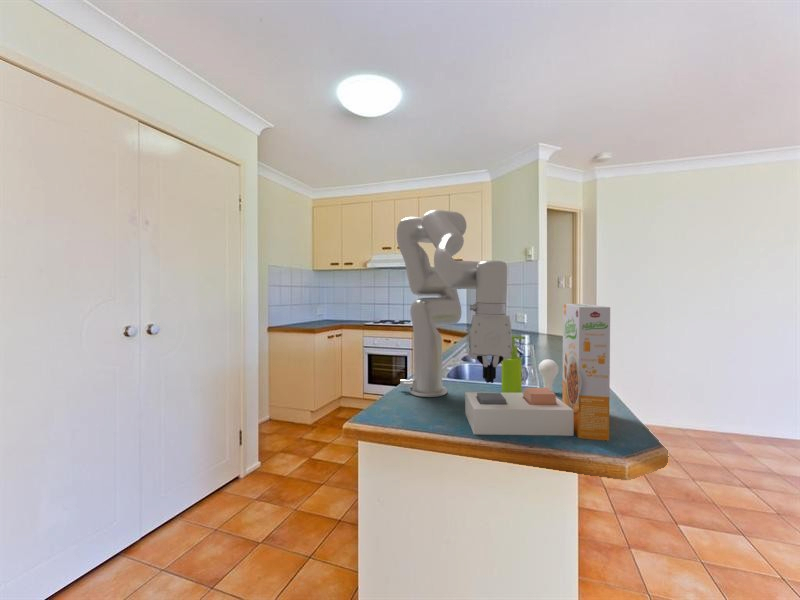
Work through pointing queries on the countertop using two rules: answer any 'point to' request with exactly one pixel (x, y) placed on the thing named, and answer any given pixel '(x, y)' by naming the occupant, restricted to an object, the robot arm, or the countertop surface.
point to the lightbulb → (548, 372)
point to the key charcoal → (491, 398)
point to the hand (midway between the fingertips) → (489, 381)
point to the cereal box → (587, 368)
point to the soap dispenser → (512, 371)
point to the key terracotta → (539, 396)
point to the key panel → (518, 417)
